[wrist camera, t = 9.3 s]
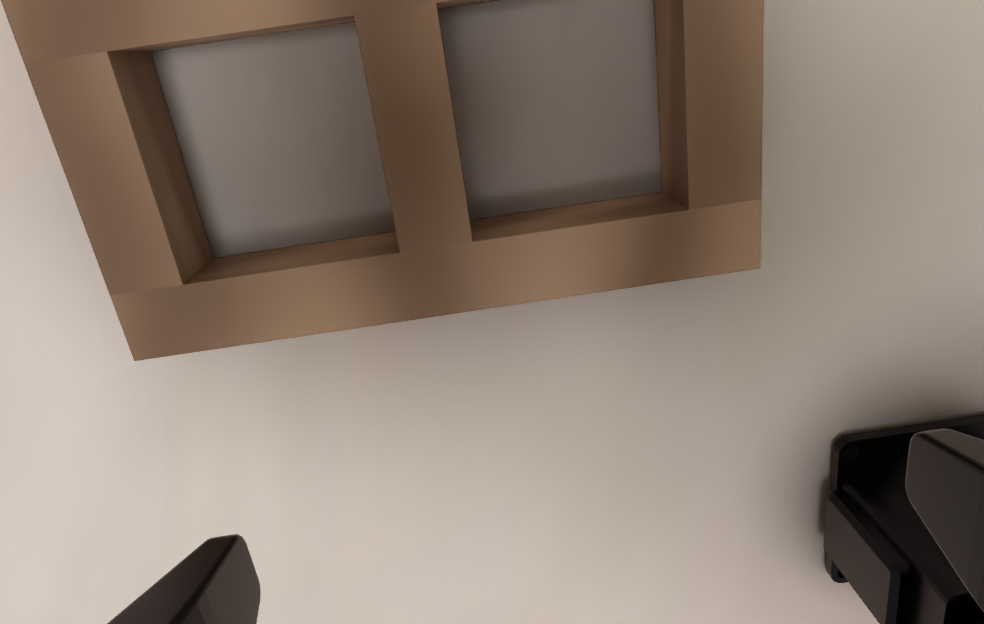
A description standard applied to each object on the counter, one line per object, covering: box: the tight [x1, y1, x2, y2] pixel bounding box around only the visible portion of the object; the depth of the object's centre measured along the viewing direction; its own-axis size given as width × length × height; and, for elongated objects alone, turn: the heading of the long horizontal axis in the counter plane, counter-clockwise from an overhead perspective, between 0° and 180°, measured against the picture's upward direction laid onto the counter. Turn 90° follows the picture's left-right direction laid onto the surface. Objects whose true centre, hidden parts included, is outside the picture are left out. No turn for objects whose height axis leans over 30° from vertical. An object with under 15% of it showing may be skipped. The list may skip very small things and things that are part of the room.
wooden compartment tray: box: [1, 0, 764, 361], centre depth 18 cm, size 18×10×2 cm, turn 98°
